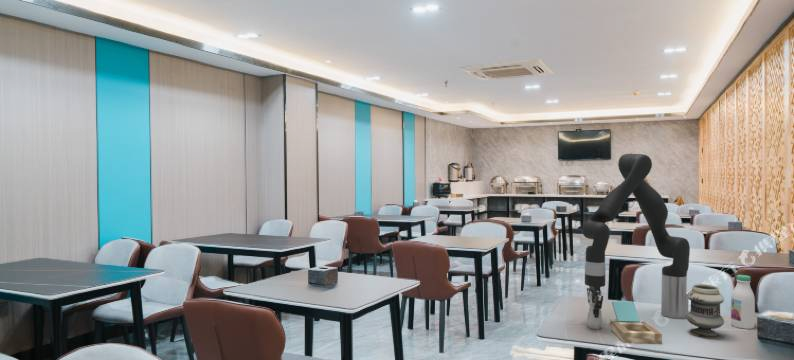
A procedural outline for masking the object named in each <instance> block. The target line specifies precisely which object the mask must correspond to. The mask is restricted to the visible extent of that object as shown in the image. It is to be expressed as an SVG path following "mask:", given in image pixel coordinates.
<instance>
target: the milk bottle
mask: <svg viewBox="0 0 794 360" xmlns="http://www.w3.org/2000/svg"><path fill="white" fill-rule="evenodd" d="M735 278H736V286H735V287H734V289H733V291H732V293H731V301H730V303H731V304H730V305H731V306H730V324H731V326H733V327H735V328H739V329H747V330H749V329H750V330H751V329H754V328H755V321H756V319H755V317H756V313H755V312H756V300H755V299H756V298H755V294H754V291H753V289H752V288H751V284H750V283H751V279H752V278H751V276H750V275H745V274H738V275H736V277H735Z"/></svg>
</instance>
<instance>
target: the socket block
mask: <svg viewBox="0 0 794 360" xmlns="http://www.w3.org/2000/svg"><path fill="white" fill-rule="evenodd" d="M609 325H610V326H611V331H612V333H613V334H614V335H616V336H617V337H618V339H620V341H622V343H626V344H627V343H628V344H656V345H657V344H659V345H662V344H663V333H661V331H659V330H658V329H656V328H655V327H654V326H652V325H651V324H650V323H649V322H646V321H640V322H639V323H633V322H617V319H616V318H609Z"/></svg>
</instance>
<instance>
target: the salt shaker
mask: <svg viewBox="0 0 794 360" xmlns="http://www.w3.org/2000/svg"><path fill="white" fill-rule="evenodd" d="M589 300H590V301H591V295H589ZM593 300H594V301H595V299H593ZM597 306H598V304H597ZM596 314H597V313H596ZM596 316H597V315H596ZM603 322H604V321H603V317H602V310H601V309H599V317H598V318H595V317H594V315H593V303H592V302H591V303H590V305H589V307H588V312H587V317H586V324H587V327H588V329H590V330H591V329H592V330H600V329H601V327H602V325H603Z"/></svg>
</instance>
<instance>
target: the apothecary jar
mask: <svg viewBox="0 0 794 360" xmlns="http://www.w3.org/2000/svg"><path fill="white" fill-rule="evenodd" d="M719 288H720V287H718V286H715V285H711V284H705V283H703V284H700V283H699V284H698V283H697V284H693V285H692V288H691V290H689V291H688V293H686V294H687V296H688V298H689V299H688V301H690V309H689V310H690V311H688V314H687V318H686V320H687V322H689V323H690V324H691V325H693V326H695V328H691V329H689V333H690V334H691V335H693V336H694V337H695V336H696V337H699V338H705V339H719V338H720V337H721V335H720V333H718V332H716V331H715V329H718V328H721V327H722V326H724V325H725V320H724V317H723V316H722V315H721V304H723V303H724V301H725V297H724V296H723V294H722V293H720V289H719Z"/></svg>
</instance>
